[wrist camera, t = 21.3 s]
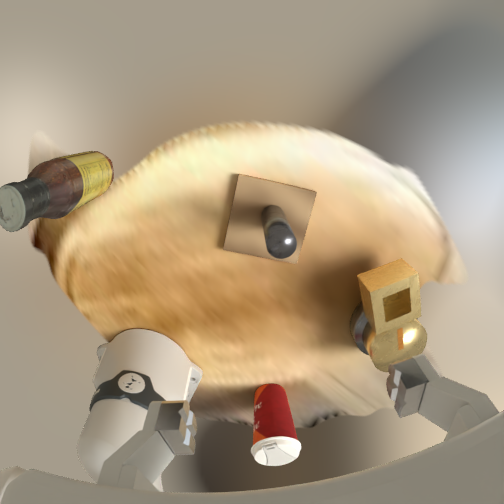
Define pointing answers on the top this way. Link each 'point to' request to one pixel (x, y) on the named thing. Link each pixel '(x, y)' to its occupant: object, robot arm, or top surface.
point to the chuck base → (358, 326)
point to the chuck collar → (392, 313)
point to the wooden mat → (251, 206)
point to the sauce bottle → (55, 189)
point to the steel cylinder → (277, 232)
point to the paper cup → (273, 427)
